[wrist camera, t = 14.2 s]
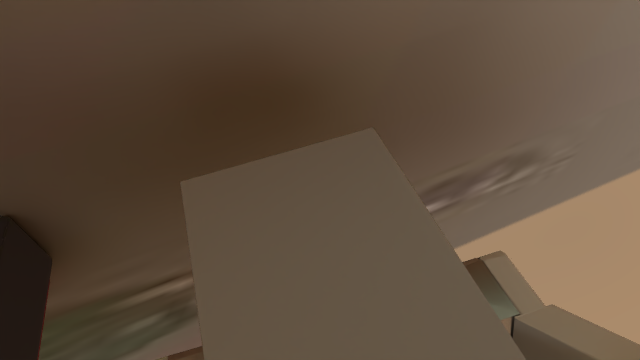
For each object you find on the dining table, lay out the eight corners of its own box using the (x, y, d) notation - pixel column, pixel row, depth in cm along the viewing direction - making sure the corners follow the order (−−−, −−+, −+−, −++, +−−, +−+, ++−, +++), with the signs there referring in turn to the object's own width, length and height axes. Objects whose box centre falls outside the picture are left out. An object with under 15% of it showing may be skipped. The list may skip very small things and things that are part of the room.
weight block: (229, 311, 16) (287, 609, 10) (180, 181, 13) (222, 495, 8) (388, 261, 16) (522, 520, 11) (372, 127, 14) (542, 384, 8)
